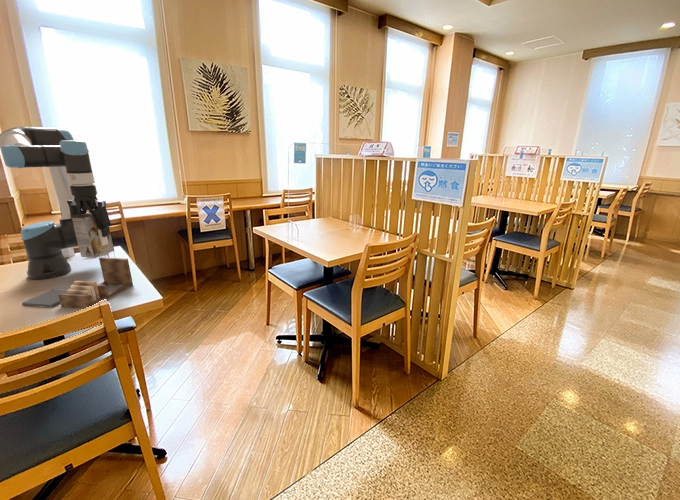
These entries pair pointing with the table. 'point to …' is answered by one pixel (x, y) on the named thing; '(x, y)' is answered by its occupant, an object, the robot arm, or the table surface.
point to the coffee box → (90, 236)
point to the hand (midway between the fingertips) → (96, 244)
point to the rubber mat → (45, 299)
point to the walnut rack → (113, 274)
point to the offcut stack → (85, 289)
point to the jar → (68, 252)
